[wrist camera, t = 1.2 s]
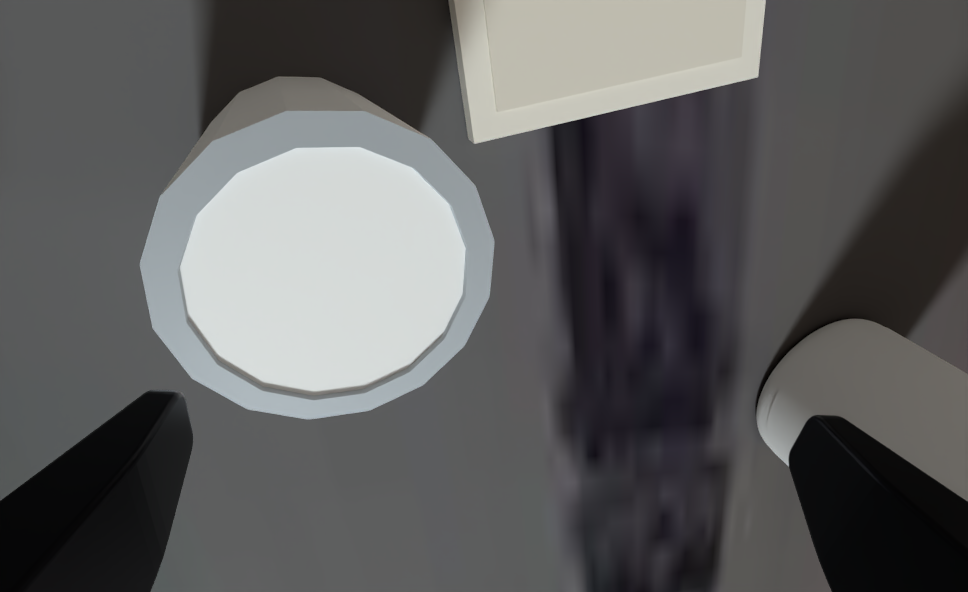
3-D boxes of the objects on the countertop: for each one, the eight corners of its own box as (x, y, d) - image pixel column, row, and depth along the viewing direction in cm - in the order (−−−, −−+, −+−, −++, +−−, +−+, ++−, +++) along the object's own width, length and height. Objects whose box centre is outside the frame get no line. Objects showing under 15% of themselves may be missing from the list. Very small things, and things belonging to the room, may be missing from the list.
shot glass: (127, 214, 17) (69, 353, 11) (254, -8, 16) (262, 22, 10) (343, 314, 21) (382, 458, 15) (463, 141, 19) (558, 227, 13)
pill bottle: (910, 345, 32) (1331, 599, 20) (805, 461, 34) (1127, 758, 22) (835, 285, 28) (1305, 558, 16) (720, 421, 30) (1058, 759, 18)
